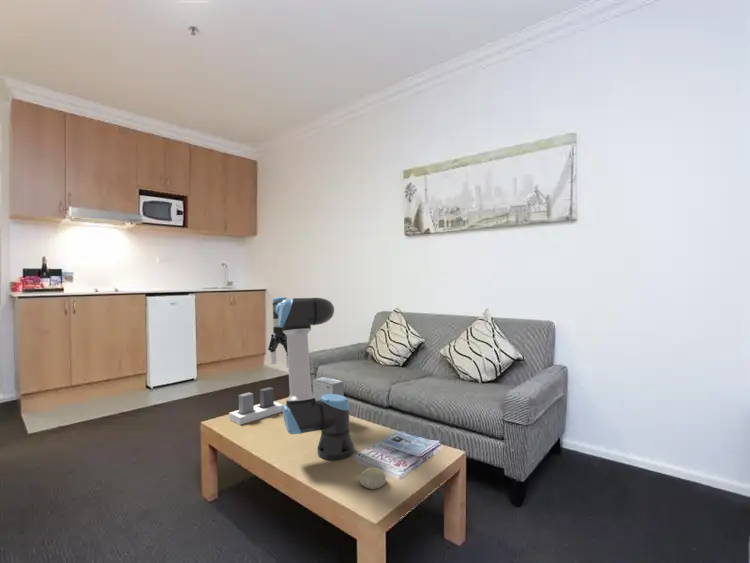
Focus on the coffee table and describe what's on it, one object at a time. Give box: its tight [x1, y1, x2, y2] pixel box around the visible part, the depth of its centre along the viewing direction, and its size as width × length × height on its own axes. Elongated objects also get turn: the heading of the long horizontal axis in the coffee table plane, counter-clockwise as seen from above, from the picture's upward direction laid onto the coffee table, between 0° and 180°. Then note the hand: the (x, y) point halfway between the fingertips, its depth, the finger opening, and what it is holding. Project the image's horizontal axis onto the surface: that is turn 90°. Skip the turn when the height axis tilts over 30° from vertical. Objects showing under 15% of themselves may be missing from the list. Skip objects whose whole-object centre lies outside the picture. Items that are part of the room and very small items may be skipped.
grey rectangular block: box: [259, 386, 275, 409], centre depth 211 cm, size 4×6×12 cm, turn 137°
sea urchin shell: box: [359, 467, 386, 490], centre depth 139 cm, size 9×8×8 cm
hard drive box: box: [312, 376, 345, 401], centre depth 199 cm, size 16×8×20 cm, turn 49°
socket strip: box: [228, 392, 284, 426], centre depth 207 cm, size 11×25×12 cm, turn 137°
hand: (281, 365), depth 212 cm, fingers open, 13 cm apart
